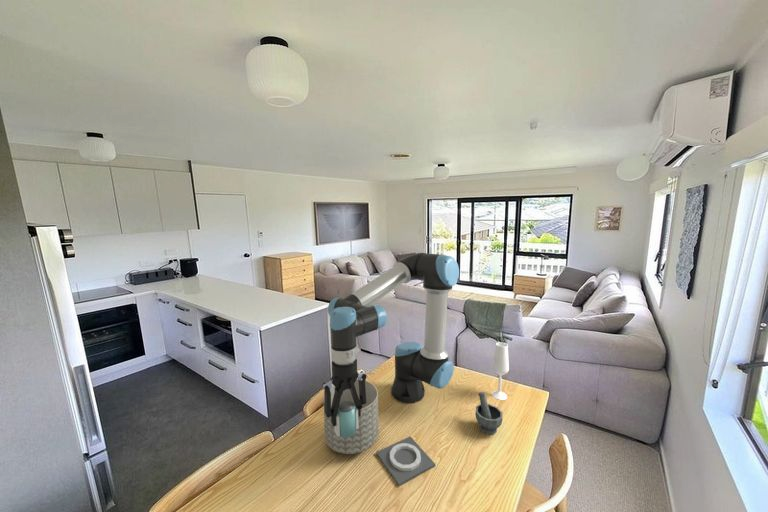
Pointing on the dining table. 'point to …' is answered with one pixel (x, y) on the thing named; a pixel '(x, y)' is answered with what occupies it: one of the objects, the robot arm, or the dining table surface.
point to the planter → (366, 423)
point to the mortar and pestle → (488, 415)
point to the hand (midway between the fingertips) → (346, 429)
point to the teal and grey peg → (347, 419)
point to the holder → (405, 460)
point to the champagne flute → (500, 367)
